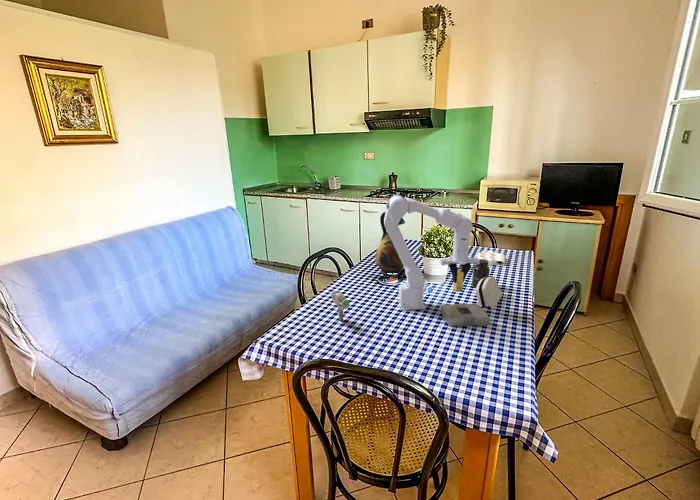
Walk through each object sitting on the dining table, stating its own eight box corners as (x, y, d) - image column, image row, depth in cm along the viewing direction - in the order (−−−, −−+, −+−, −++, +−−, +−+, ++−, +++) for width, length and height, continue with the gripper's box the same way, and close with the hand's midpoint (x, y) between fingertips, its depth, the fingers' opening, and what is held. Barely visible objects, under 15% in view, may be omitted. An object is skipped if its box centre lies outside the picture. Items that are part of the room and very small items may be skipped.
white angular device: (492, 309, 140) (485, 285, 139) (480, 310, 143) (473, 286, 142) (503, 294, 153) (496, 271, 152) (491, 295, 156) (485, 273, 155)
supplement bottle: (471, 288, 160) (473, 262, 156) (472, 282, 166) (474, 257, 162) (487, 290, 157) (490, 264, 154) (488, 284, 163) (491, 259, 160)
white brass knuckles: (503, 268, 183) (473, 265, 188) (504, 257, 198) (476, 255, 204) (504, 262, 181) (473, 259, 187) (505, 252, 197) (477, 249, 203)
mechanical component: (343, 327, 130) (343, 301, 126) (331, 315, 138) (330, 291, 135) (351, 325, 131) (350, 299, 128) (338, 313, 140) (337, 289, 136)
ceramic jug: (411, 270, 182) (413, 210, 173) (398, 280, 170) (400, 217, 161) (381, 264, 191) (382, 207, 182) (366, 273, 178) (366, 213, 169)
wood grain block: (456, 291, 141) (457, 272, 139) (453, 288, 144) (454, 269, 142) (462, 291, 141) (463, 272, 139) (459, 288, 144) (460, 269, 142)
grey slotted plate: (449, 326, 129) (449, 318, 128) (440, 311, 139) (440, 304, 138) (488, 324, 129) (489, 317, 128) (476, 310, 140) (477, 303, 139)
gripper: (445, 252, 134) (442, 286, 138) (484, 250, 134) (480, 284, 138) (439, 246, 140) (437, 279, 144) (476, 245, 141) (473, 277, 145)
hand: (458, 281), depth 142 cm, fingers closed on wood grain block, 2 cm apart
